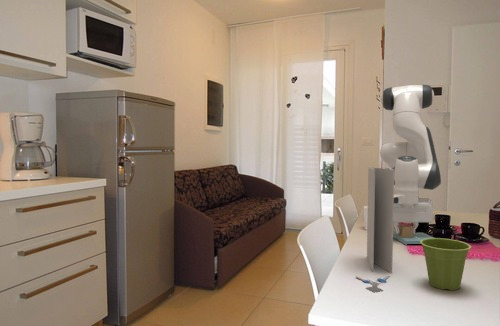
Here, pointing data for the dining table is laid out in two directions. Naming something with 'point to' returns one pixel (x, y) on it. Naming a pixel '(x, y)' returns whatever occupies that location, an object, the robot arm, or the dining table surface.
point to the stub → (406, 235)
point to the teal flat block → (421, 236)
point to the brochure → (380, 217)
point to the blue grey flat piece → (374, 287)
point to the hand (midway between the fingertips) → (405, 233)
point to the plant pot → (445, 261)
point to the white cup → (366, 216)
